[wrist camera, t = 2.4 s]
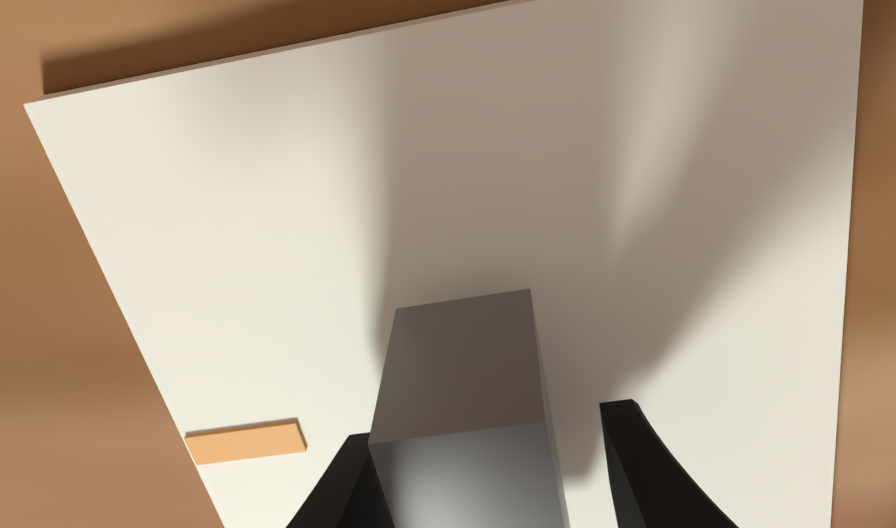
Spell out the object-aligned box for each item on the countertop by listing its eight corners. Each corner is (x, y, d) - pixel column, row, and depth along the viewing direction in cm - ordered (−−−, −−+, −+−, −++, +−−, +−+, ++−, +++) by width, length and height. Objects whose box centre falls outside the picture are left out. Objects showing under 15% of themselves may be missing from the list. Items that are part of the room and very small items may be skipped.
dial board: (814, 602, 18) (825, 627, 18) (297, 648, 20) (291, 671, 20) (849, -70, 11) (871, -67, 11) (41, 95, 13) (20, 105, 12)
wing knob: (571, 527, 16) (601, 742, 12) (468, 538, 17) (464, 751, 13) (527, 261, 13) (547, 430, 9) (401, 281, 14) (365, 452, 9)
